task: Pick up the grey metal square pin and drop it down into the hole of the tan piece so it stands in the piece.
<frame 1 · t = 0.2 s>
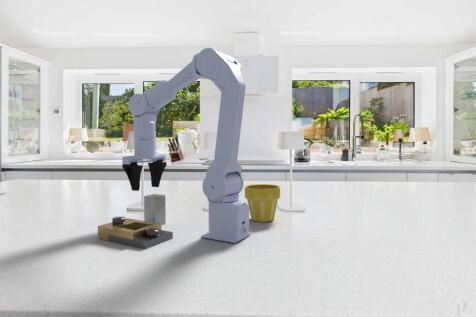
hand: (145, 188, 94), 10 cm above the countertop, fingers open, 7 cm apart
tan piece: (135, 238, 80), on the countertop
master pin: (155, 224, 93), on the countertop
plant pot: (262, 220, 99), on the countertop
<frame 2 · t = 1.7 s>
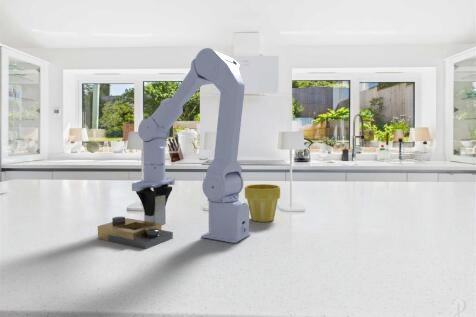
hand: (154, 213, 93), 3 cm above the countertop, fingers closed on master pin, 4 cm apart
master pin: (155, 224, 93), on the countertop, touching gripper
everything else where it was.
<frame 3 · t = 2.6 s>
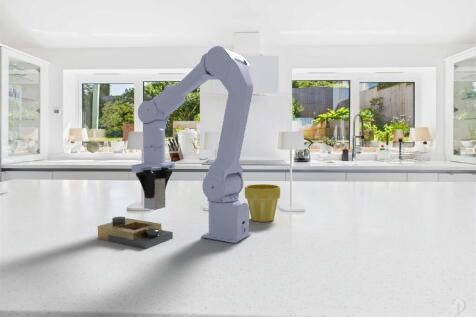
hand: (154, 196, 92), 8 cm above the countertop, fingers closed on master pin, 4 cm apart
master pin: (154, 207, 92), point 5 cm above the countertop, touching gripper
everything else where it was.
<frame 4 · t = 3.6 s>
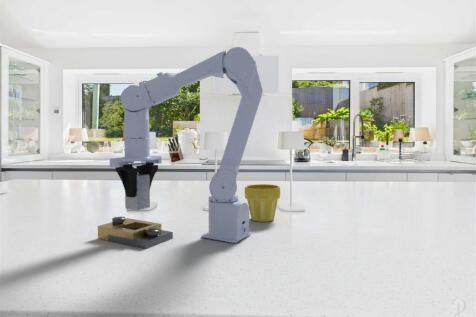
hand: (137, 195, 81), 10 cm above the countertop, fingers closed on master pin, 4 cm apart
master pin: (137, 207, 81), point 7 cm above the countertop, touching gripper
everything else where it was.
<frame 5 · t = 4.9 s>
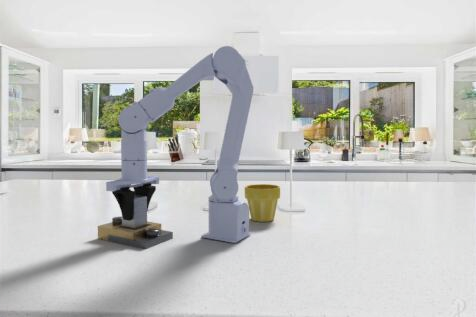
hand: (135, 217, 80), 5 cm above the countertop, fingers closed on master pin, 4 cm apart
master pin: (134, 230, 80), point 2 cm above the countertop, touching gripper
everything else where it was.
when the fingers open (4 cm above the countertop, at t = 5.6 s): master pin stays where it is, resting in tan piece.
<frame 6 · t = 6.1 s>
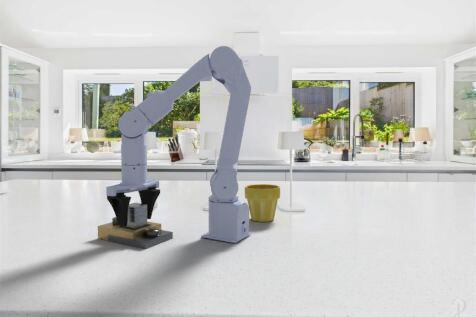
hand: (135, 222, 80), 4 cm above the countertop, fingers open, 7 cm apart
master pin: (135, 238, 80), resting in tan piece
everything else where it was.
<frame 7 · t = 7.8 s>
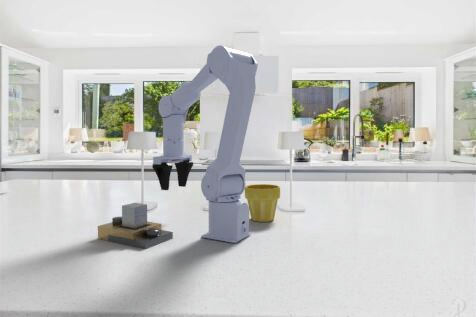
hand: (173, 188, 96), 9 cm above the countertop, fingers open, 7 cm apart
nothing on the countertop moved.
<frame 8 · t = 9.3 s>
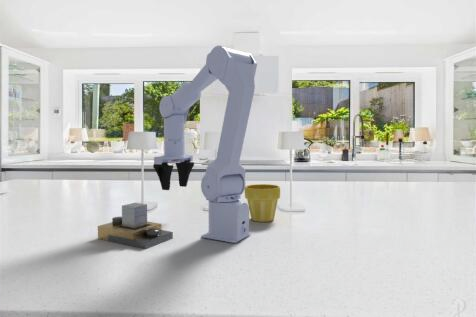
hand: (174, 188, 96), 9 cm above the countertop, fingers open, 7 cm apart
nothing on the countertop moved.
at the end: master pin 0.1 cm off-centre on the tan piece, point 0.0 cm above the tan piece's base; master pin tilted 0°; the gripper is holding nothing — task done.
